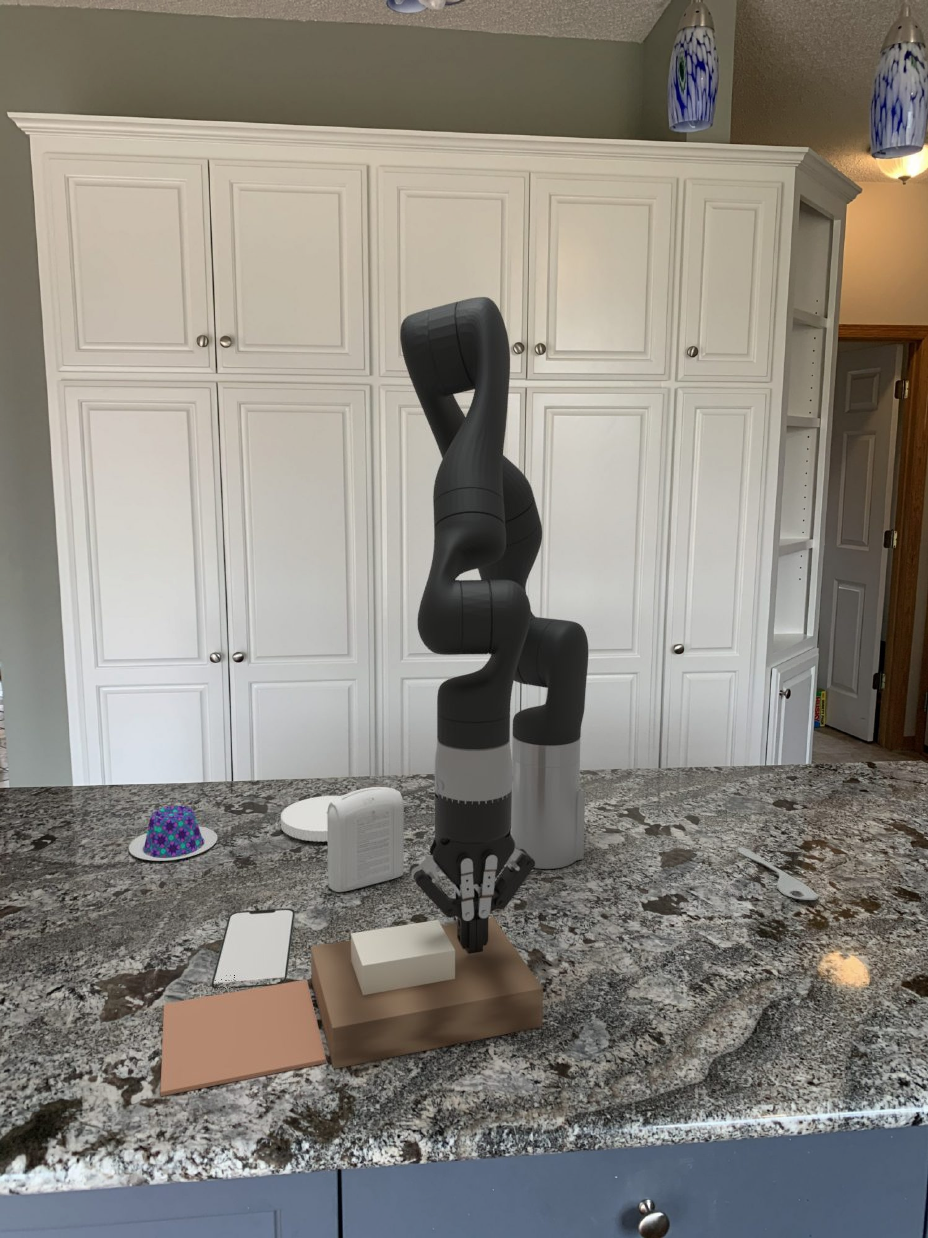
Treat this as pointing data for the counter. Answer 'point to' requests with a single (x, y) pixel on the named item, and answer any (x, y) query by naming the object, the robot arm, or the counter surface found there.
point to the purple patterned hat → (172, 835)
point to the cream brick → (402, 957)
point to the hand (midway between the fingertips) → (472, 949)
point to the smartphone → (255, 946)
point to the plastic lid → (307, 818)
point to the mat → (238, 1036)
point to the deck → (425, 1002)
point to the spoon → (783, 878)
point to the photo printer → (365, 838)
